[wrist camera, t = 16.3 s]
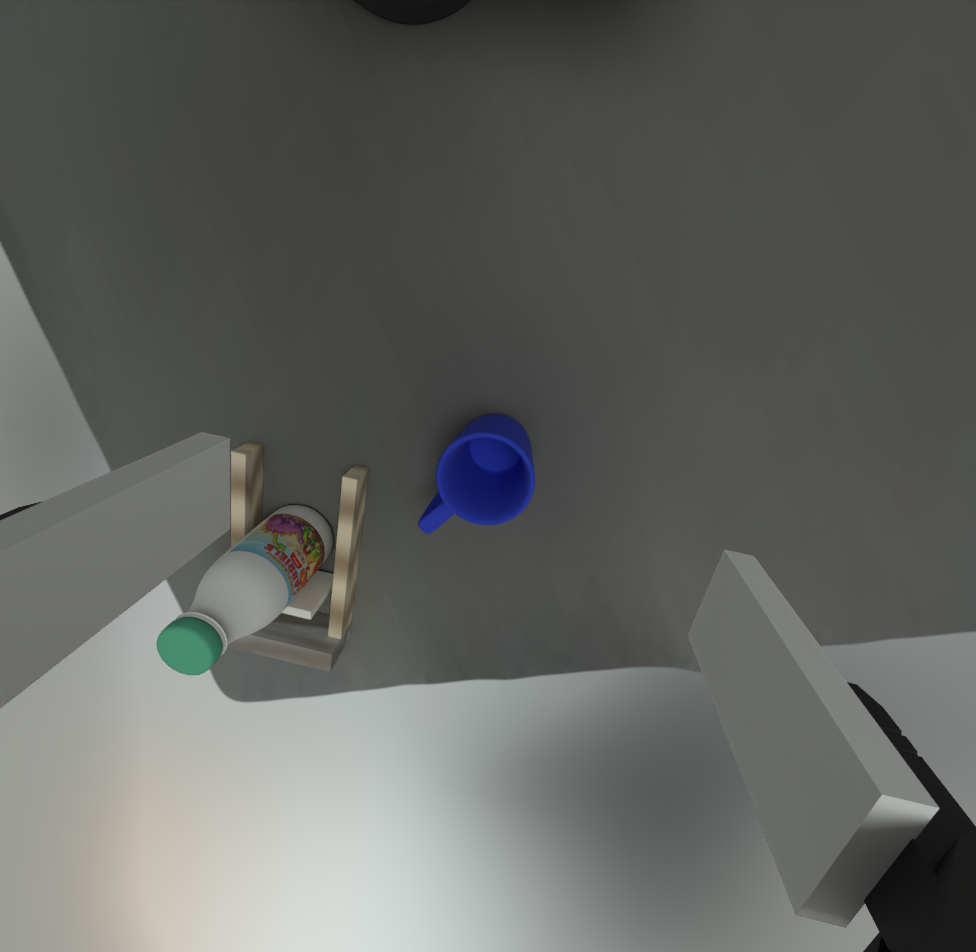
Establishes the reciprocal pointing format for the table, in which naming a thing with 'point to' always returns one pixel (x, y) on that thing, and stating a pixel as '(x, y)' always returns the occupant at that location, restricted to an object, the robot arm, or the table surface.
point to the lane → (330, 633)
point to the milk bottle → (247, 587)
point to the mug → (483, 475)
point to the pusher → (311, 596)
